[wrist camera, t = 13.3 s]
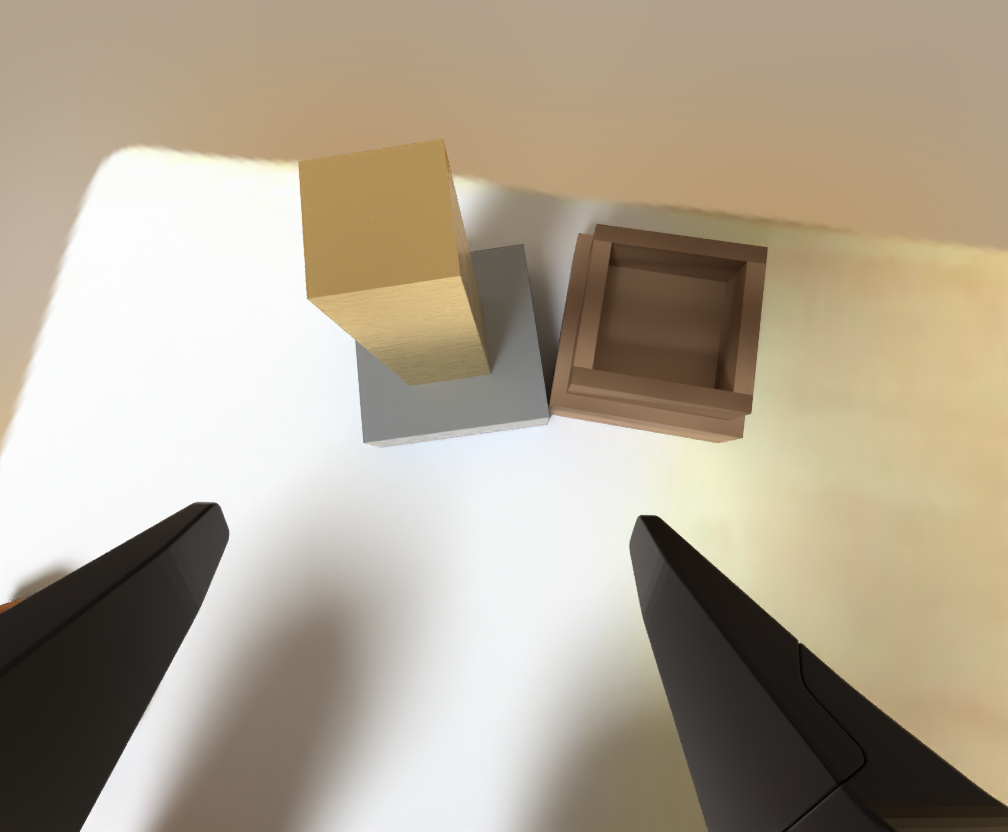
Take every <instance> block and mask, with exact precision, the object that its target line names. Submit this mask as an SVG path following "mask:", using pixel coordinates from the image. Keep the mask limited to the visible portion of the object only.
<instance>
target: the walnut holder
mask: <svg viewBox="0 0 1008 832" xmlns="http://www.w3.org/2000/svg"><path fill="white" fill-rule="evenodd" d="M767 248H768V247H761V246H753V245H746V244H739V243H731V242H724V241H717V240H710V239H702V238H695V237H688V236H681V235H673V234H666V233H659V232H651V231H644V230H637V229H630V228H622V227H615V226H608V225H600V224H597V225H596V229H595V233H594V235H588V234H581V233H579V234H578V238H577V243H576V247H575V252H574V257H573V262H572V268H571V274H570V280H569V286H568V291H567V297H566V303H565V309H564V315H563V321H562V327H561V333H560V339H559V345H558V350H557V356H556V362H555V368H554V374H553V380H552V386H551V392H550V398H549V403H548V410H549V414H552V415H558V416H564V417H570V418H576V419H581V420H587V421H593V422H599V423H605V424H611V425H616V426H622V427H628V428H634V429H640V430H646V431H651V432H657V433H663V434H669V435H675V436H681V437H686V438H692V439H698V440H704V441H710V442H715V443H721V442H726V441H730V440H735V439H740V438H743V430H744V420H745V415H748V414H751V411H752V400H753V390H754V380H755V370H756V360H757V350H758V340H759V330H760V319H761V309H762V299H763V289H764V279H765V269H766V259H767Z"/></svg>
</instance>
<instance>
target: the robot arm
mask: <svg viewBox="0 0 1008 832" xmlns="http://www.w3.org/2000/svg"><path fill="white" fill-rule="evenodd" d="M228 540H229V528H228V526H227V523H226V520H225V518H224V515H223V512H222V510H221V507H220V506H219V505H218V504H217V503H214V502H196V503H193V504H191V505H189V506H187V507H186V508H184V509H182V510H180V511H179V512H177V513H175V514H173V515H172V516H170V517H168V518H166V519H165V520H163V521H161V522H159V523H158V524H156V525H154V526H152V527H151V528H149V529H147V530H145V531H144V532H142V533H140V534H139V535H137V536H135V537H133V538H132V539H130V540H128V541H126V542H125V543H123V544H121V545H119V546H118V547H116V548H114V549H112V550H111V551H109V552H107V553H105V554H104V555H102V556H100V557H98V558H97V559H95V560H93V561H91V562H90V563H88V564H86V565H84V566H83V567H81V568H79V569H77V570H76V571H74V572H72V573H70V574H69V575H67V576H65V577H63V578H62V579H60V580H58V581H56V582H55V583H53V584H51V585H49V586H48V587H46V588H44V589H42V590H41V591H39V592H37V593H35V594H34V595H32V596H30V597H28V598H27V599H25V600H23V601H21V602H20V603H18V604H16V605H14V606H13V607H11V608H9V609H8V610H6V611H4V612H2V613H1V614H0V832H80V830H81V828H82V827H83V825H84V823H85V821H86V819H87V817H88V815H89V814H90V812H91V810H92V808H93V806H94V804H95V803H96V801H97V799H98V797H99V795H100V793H101V791H102V790H103V788H104V786H105V784H106V782H107V780H108V778H109V777H110V775H111V773H112V771H113V769H114V767H115V766H116V764H117V762H118V760H119V758H120V756H121V754H122V753H123V751H124V749H125V747H126V745H127V743H128V741H129V740H130V738H131V736H132V734H133V732H134V730H135V729H136V727H137V725H138V723H139V721H140V719H141V717H142V716H143V714H144V712H145V710H146V708H147V706H148V704H149V703H150V701H151V699H152V697H153V695H154V693H155V692H156V690H157V688H158V686H159V684H160V682H161V680H162V679H163V677H164V675H165V673H166V671H167V669H168V667H169V666H170V664H171V662H172V660H173V658H174V656H175V655H176V653H177V651H178V649H179V647H180V645H181V643H182V642H183V640H184V638H185V636H186V634H187V632H188V630H189V629H190V627H191V625H192V623H193V621H194V619H195V617H196V615H197V613H198V611H199V609H200V607H201V605H202V603H203V601H204V598H205V596H206V594H207V591H208V589H209V586H210V584H211V581H212V579H213V577H214V574H215V572H216V569H217V567H218V565H219V562H220V560H221V557H222V555H223V552H224V550H225V548H226V545H227V543H228ZM629 548H630V555H631V560H632V565H633V571H634V576H635V581H636V586H637V592H638V597H639V602H640V607H641V612H642V616H643V620H644V624H645V627H646V630H647V634H648V637H649V640H650V643H651V647H652V650H653V653H654V656H655V660H656V663H657V666H658V669H659V673H660V676H661V679H662V682H663V686H664V689H665V692H666V695H667V699H668V702H669V705H670V709H671V712H672V715H673V718H674V722H675V725H676V728H677V731H678V735H679V738H680V741H681V744H682V748H683V751H684V754H685V757H686V761H687V764H688V767H689V770H690V774H691V777H692V780H693V783H694V787H695V790H696V793H697V796H698V800H699V803H700V806H701V809H702V813H703V816H704V819H705V822H706V826H707V829H708V832H1008V807H1007V806H1006V805H1004V804H1003V803H1001V802H1000V801H998V800H997V799H995V798H994V797H992V796H991V795H989V794H988V793H987V792H985V791H984V790H983V789H981V788H980V787H979V786H977V785H976V784H975V783H973V782H972V781H971V780H969V779H968V778H967V777H966V776H964V775H963V774H962V773H960V772H959V771H958V770H957V769H955V768H954V767H953V766H952V765H950V764H949V763H948V762H946V761H945V760H944V759H943V758H941V757H940V756H939V755H938V754H936V753H935V752H934V751H932V750H931V749H930V748H929V747H927V746H926V745H925V744H923V743H922V742H921V741H920V740H918V739H917V738H916V737H915V736H913V735H912V734H911V733H909V732H908V731H907V730H906V729H904V728H903V727H902V726H901V725H899V724H898V723H897V722H895V721H894V720H893V719H892V718H890V717H889V716H888V715H887V714H885V713H884V712H883V711H882V710H880V709H879V708H878V707H877V706H875V705H874V704H873V703H872V702H870V701H869V700H868V699H867V698H865V697H864V696H863V695H862V694H860V693H859V692H858V691H857V690H856V689H854V688H853V687H852V686H851V685H849V684H848V683H847V682H846V681H845V680H844V679H842V678H841V677H840V676H839V675H838V674H837V673H835V672H834V671H833V670H832V669H831V668H830V667H828V666H827V665H826V664H825V663H824V662H823V661H821V660H820V659H819V658H818V657H817V656H816V655H815V654H813V653H812V652H811V651H810V650H809V649H808V648H807V647H806V646H804V645H803V644H802V643H798V640H797V639H796V638H795V637H794V636H793V635H792V634H791V633H790V632H788V631H787V630H786V629H785V628H784V627H783V626H782V625H781V624H779V623H778V622H777V621H776V620H775V619H774V618H773V617H771V616H770V615H769V614H768V613H767V612H766V611H765V610H764V609H762V608H761V607H760V606H759V605H758V604H757V603H756V602H755V601H753V600H752V599H751V598H750V597H749V596H748V595H747V594H746V593H744V592H743V591H742V590H741V589H740V588H739V587H738V586H737V585H735V584H734V583H733V582H732V581H731V580H730V579H729V578H727V577H726V576H725V575H724V574H723V573H722V572H721V571H720V570H718V569H717V568H716V567H715V566H714V565H713V564H712V563H711V562H709V561H708V560H707V559H706V558H705V557H704V556H703V555H702V554H700V553H699V552H698V551H697V550H696V549H695V548H694V547H692V546H691V545H690V544H689V543H688V542H687V541H686V540H685V539H683V538H682V537H681V536H680V535H679V534H678V533H677V532H676V531H674V530H673V529H672V528H671V527H670V526H669V525H668V524H667V523H665V522H664V521H663V520H662V519H661V518H660V517H658V516H655V515H640V516H639V517H638V518H637V520H636V523H635V526H634V529H633V532H632V536H631V539H630V544H629Z"/></svg>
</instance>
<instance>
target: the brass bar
mask: <svg viewBox="0 0 1008 832" xmlns="http://www.w3.org/2000/svg"><path fill="white" fill-rule="evenodd" d="M299 178H300V194H301V210H302V226H303V242H304V257H305V273H306V289H307V299H308V300H309V301H310V302H311V303H313V304H314V305H315V306H316V307H317V308H319V309H320V310H321V311H322V312H323V313H324V314H326V315H327V316H328V317H329V318H330V319H331V320H333V321H334V322H335V323H336V324H337V325H339V326H340V327H341V328H342V329H343V330H344V331H346V332H347V333H348V334H349V335H350V336H351V337H353V338H354V339H355V340H356V341H357V342H359V343H360V344H361V345H362V346H363V347H364V348H366V349H367V350H368V351H369V352H370V353H372V354H373V355H374V356H375V357H376V358H377V359H379V360H380V361H381V362H382V363H383V364H384V365H386V366H387V367H388V368H389V369H390V370H392V371H393V372H394V373H395V374H396V375H397V376H399V377H400V378H401V379H402V380H403V381H404V382H406V383H407V384H408V385H409V386H413V385H420V384H427V383H434V382H441V381H448V380H455V379H462V378H469V377H476V376H483V375H490V374H491V372H490V364H489V357H488V349H487V342H486V334H485V327H484V319H483V312H482V304H481V297H480V293H479V289H478V284H477V280H476V276H475V272H474V267H473V263H472V259H471V255H470V250H469V246H468V242H467V238H466V233H465V229H464V225H463V221H462V216H461V212H460V208H459V204H458V199H457V195H456V191H455V187H454V183H453V178H452V174H451V170H450V166H449V161H448V157H447V153H446V149H445V144H444V140H443V139H440V140H433V141H427V142H421V143H414V144H408V145H402V146H396V147H389V148H383V149H376V150H370V151H363V152H357V153H351V154H345V155H338V156H332V157H326V158H319V159H312V160H306V161H300V162H299Z"/></svg>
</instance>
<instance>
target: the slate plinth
mask: <svg viewBox="0 0 1008 832" xmlns="http://www.w3.org/2000/svg"><path fill="white" fill-rule="evenodd" d="M470 255H471V259H472V263H473V267H474V272H475V276H476V280H477V284H478V289H479V293H480V297H481V304H482V312H483V319H484V327H485V334H486V342H487V349H488V357H489V364H490V372H491V374H490V375H483V376H476V377H469V378H462V379H455V380H448V381H441V382H434V383H427V384H420V385H413V386H409V385H408V384H407V383H406V382H404V381H403V380H402V379H401V378H400V377H399V376H397V375H396V374H395V373H394V372H393V371H392V370H390V369H389V368H388V367H387V366H386V365H384V364H383V363H382V362H381V361H380V360H379V359H377V358H376V357H375V356H374V355H373V354H372V353H370V352H369V351H368V350H367V349H366V348H364V347H363V346H362V345H361V344H360V343H359V342H357V341H356V340H355V342H356V355H357V367H358V380H359V392H360V405H361V418H362V430H363V443H365V444H369V445H373V446H377V447H387V446H394V445H402V444H409V443H416V442H424V441H431V440H438V439H445V438H453V437H460V436H467V435H474V434H482V433H489V432H496V431H503V430H511V429H518V428H525V427H533V426H540V425H547V423H548V420H549V418H550V417H549V410H548V403H547V397H546V390H545V384H544V377H543V370H542V364H541V357H540V351H539V344H538V337H537V331H536V324H535V318H534V311H533V304H532V298H531V291H530V285H529V278H528V271H527V265H526V258H525V252H524V245H523V244H521V245H514V246H508V247H501V248H494V249H487V250H481V251H474V252H470Z"/></svg>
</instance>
